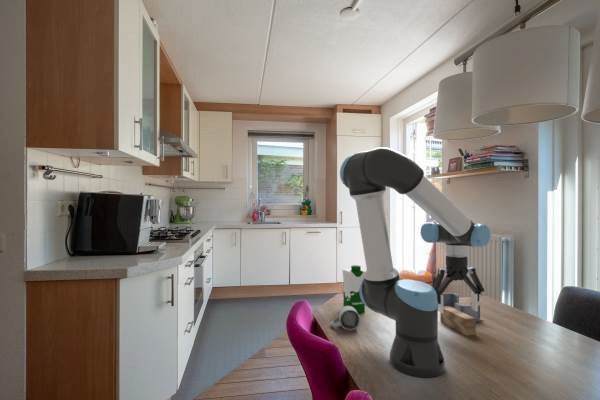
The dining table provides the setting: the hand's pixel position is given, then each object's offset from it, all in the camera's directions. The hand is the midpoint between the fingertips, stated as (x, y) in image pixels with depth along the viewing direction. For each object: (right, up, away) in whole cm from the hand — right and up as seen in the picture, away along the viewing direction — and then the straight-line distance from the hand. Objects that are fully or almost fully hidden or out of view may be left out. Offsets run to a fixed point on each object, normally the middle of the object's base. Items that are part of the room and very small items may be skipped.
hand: (457, 311), depth 121 cm
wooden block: (0, -6, 0) cm, 6 cm away
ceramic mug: (-43, -7, +1) cm, 43 cm away
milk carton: (-36, -7, +19) cm, 42 cm away
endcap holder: (+8, -6, +16) cm, 19 cm away
